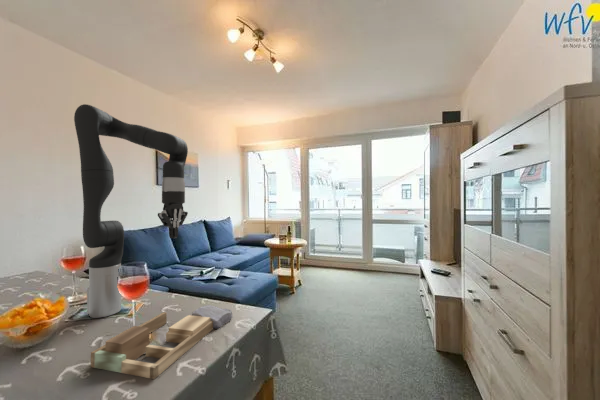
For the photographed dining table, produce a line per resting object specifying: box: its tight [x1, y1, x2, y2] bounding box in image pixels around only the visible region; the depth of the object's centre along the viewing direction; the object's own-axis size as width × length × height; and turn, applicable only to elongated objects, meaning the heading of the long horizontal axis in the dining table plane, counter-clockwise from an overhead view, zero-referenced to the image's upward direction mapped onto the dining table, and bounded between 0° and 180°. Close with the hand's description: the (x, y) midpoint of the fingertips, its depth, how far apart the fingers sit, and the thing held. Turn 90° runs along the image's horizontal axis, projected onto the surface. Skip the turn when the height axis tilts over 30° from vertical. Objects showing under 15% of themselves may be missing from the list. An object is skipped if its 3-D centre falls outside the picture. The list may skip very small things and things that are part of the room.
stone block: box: [191, 304, 233, 330], centre depth 85 cm, size 12×5×10 cm
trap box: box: [90, 311, 214, 380], centre depth 70 cm, size 18×23×4 cm
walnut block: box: [105, 325, 150, 361], centre depth 65 cm, size 5×8×6 cm, turn 167°
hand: (173, 237), depth 92 cm, fingers closed
